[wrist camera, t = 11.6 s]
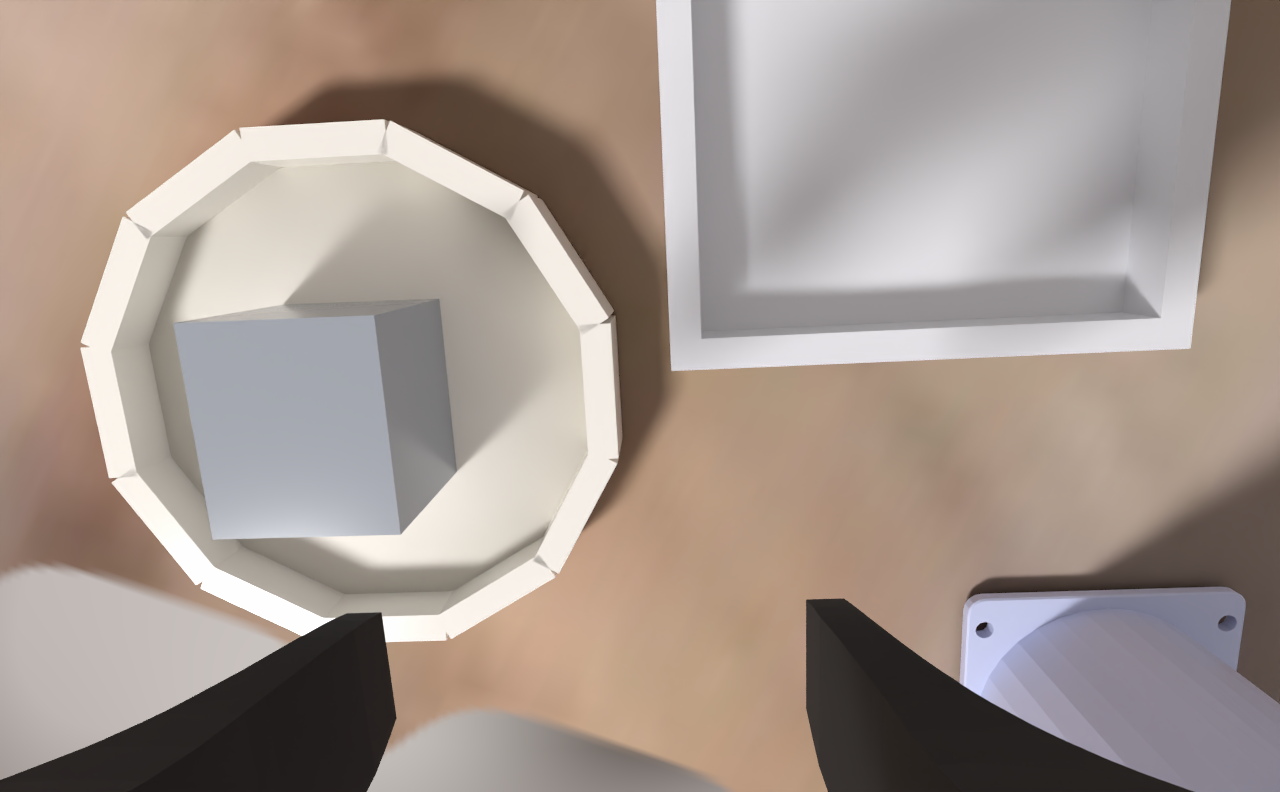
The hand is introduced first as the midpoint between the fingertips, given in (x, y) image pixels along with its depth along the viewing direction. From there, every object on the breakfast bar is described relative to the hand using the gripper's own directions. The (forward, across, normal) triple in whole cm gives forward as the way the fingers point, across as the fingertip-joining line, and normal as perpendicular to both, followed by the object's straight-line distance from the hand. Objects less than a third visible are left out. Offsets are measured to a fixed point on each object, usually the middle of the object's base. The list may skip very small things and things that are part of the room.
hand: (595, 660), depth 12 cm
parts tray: (+9, -8, -10) cm, 16 cm away
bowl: (+9, +7, -3) cm, 12 cm away
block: (+9, +7, -3) cm, 12 cm away
